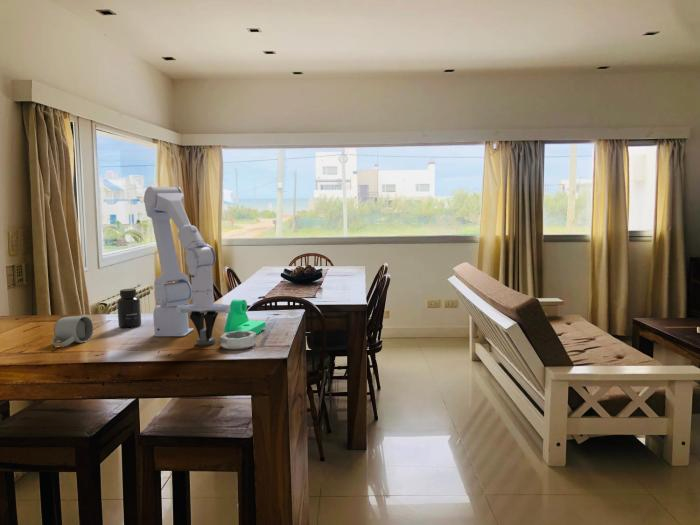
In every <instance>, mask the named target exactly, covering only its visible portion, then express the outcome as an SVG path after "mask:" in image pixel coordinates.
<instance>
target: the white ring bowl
mask: <svg viewBox="0 0 700 525" xmlns="http://www.w3.org/2000/svg"><path fill="white" fill-rule="evenodd" d="M219 339H220V340H219V341H220V342H219V343H220V346H221V347H222V349H224V350H227V351H242V350H247V349H252V348H253V347H255V346H256V343H257V335H256V333H255V332H252V331H232V332H227V333H225V332H223V333H222V335H220V336H219Z"/></svg>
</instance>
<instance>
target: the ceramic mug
mask: <svg viewBox="0 0 700 525" xmlns="http://www.w3.org/2000/svg"><path fill="white" fill-rule="evenodd" d="M53 333H54V337H52V339H51V343H52V345H53V347H54V346H65V347H67V346H70V345H71V344H72V343H76V342H78V343H77V344H80V343H81V344H82V343H83V342H85V341H87V342H89V340H91V338H92V337H93V334H94V324H93V321H92V319H91V317H89V316H87V315H79V316H78V315H77V316H76V315H75V316H74V315H73V316H65V317H61V318H59V319H58V320H57V321H56V323H55V324H54V328H53ZM58 341H60V342H59V343H58ZM85 343H86V342H85ZM83 344H84V343H83Z"/></svg>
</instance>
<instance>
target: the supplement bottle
mask: <svg viewBox="0 0 700 525" xmlns="http://www.w3.org/2000/svg"><path fill="white" fill-rule="evenodd" d="M119 296H120V298H119V299H118V300H117V302H116V306H117V319H118V320H117V321H118V327H119V328H120V329H126V328H129V329H134V328H135V327H136V328H139V327H141V325H142V315H141V314H142V311H141V309H142V308H141V300H140V298H139V297H138V296H137V289H136V288H123V289H120V290H119ZM126 330H127V329H126Z"/></svg>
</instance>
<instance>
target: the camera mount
mask: <svg viewBox="0 0 700 525" xmlns="http://www.w3.org/2000/svg"><path fill="white" fill-rule="evenodd" d="M229 305H230V312H229V313H227V317H226V321H225V326H224V328H223V329H224V330H223V331H224V332H223V333H227V332H232V331H252V332H255V333H256V334H257V335H259V334H260V333H259V332H261V331H262V330H263V329H264V328H266V327H267V326H266V325H267V324H266V323H267V322H266V321H265V320H250V319H249V317H248V315H247V310H248V302H247V300H246V299H235V298H234V299H232V300H231V301H230V303H229ZM258 333H259V334H258ZM261 333H262V332H261Z"/></svg>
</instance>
